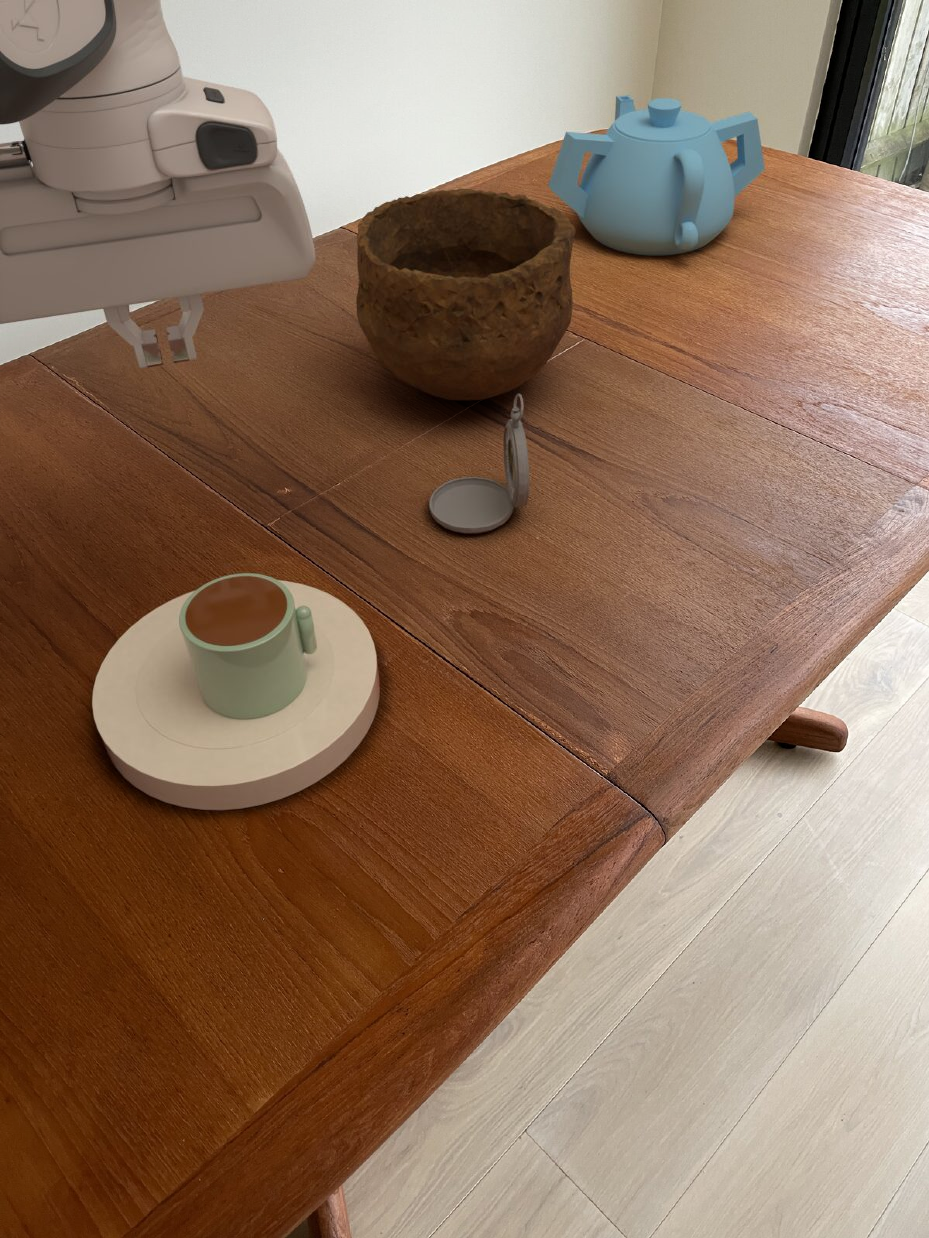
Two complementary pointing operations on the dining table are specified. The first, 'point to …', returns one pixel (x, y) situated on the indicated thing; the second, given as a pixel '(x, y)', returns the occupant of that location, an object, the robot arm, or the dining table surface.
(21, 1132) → the dining table surface
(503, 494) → the pocket watch
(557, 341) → the bowl
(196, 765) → the plate
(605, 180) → the teapot
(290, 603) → the teacup
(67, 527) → the dining table surface
